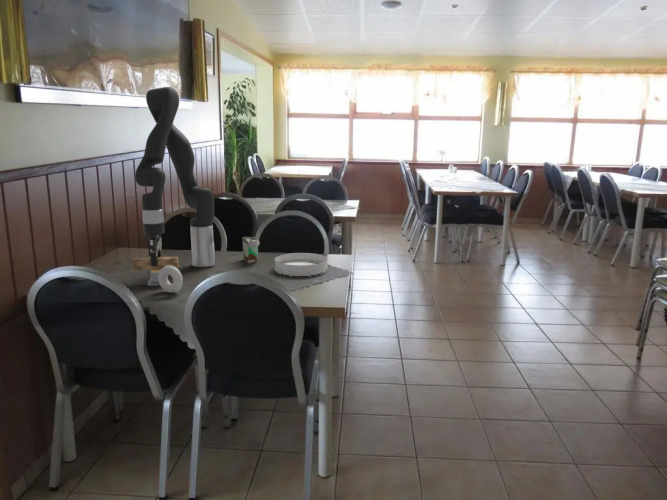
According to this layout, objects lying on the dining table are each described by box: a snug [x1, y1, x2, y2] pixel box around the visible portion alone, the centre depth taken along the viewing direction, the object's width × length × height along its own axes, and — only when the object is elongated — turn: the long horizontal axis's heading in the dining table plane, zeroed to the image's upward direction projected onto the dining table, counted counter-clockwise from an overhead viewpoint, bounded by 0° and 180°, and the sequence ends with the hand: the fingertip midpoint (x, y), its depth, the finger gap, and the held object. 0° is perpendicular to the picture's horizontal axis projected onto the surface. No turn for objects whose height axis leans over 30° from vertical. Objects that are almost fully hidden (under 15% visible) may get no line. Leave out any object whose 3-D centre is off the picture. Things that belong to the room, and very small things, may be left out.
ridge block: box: [146, 269, 161, 286], centre depth 210 cm, size 6×8×6 cm
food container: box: [241, 236, 260, 265], centre depth 243 cm, size 12×6×10 cm, turn 22°
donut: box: [158, 266, 184, 294], centre depth 197 cm, size 10×3×10 cm, turn 66°
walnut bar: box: [132, 256, 180, 271], centre depth 209 cm, size 16×4×4 cm, turn 98°
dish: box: [274, 252, 328, 275], centre depth 230 cm, size 22×22×5 cm
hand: (156, 263), depth 209 cm, fingers open, 8 cm apart
